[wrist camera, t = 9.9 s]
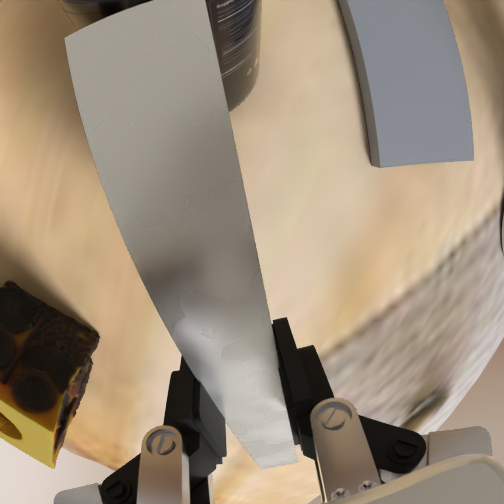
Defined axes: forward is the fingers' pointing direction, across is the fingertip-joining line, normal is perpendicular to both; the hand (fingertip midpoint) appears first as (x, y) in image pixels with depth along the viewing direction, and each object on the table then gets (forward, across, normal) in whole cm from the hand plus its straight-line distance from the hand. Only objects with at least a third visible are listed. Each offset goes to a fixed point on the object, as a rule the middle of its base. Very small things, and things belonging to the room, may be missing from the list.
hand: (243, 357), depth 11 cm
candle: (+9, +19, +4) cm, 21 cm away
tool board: (+8, -14, -19) cm, 25 cm away
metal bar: (+2, 0, 0) cm, 2 cm away
